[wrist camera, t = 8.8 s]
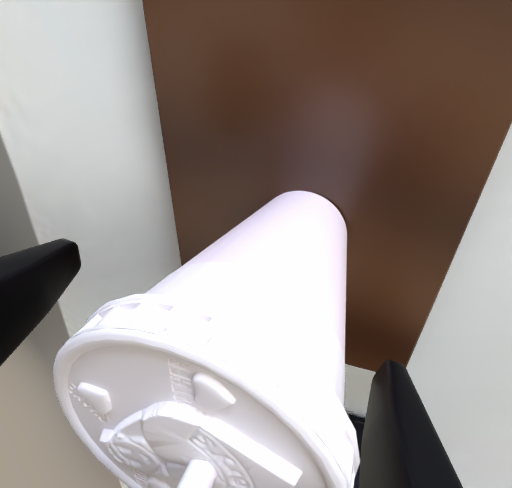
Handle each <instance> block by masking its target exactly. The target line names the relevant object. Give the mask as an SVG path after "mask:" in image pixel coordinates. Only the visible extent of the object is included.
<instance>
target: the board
mask: <svg viewBox="0 0 512 488" xmlns="http://www.w3.org/2000/svg"><path fill="white" fill-rule="evenodd" d="M142 1H143V7H144V14H145V21H146V28H147V34H148V41H149V48H150V55H151V61H152V68H153V75H154V82H155V88H156V95H157V102H158V109H159V115H160V122H161V129H162V136H163V142H164V149H165V156H166V163H167V169H168V176H169V183H170V190H171V196H172V203H173V210H174V217H175V223H176V230H177V237H178V243H179V250H180V257H181V264H182V266H183V265H184V264H185V263H187V262H188V261H189V260H191V259H192V258H194V257H195V256H196V255H198V254H199V253H200V252H202V251H203V250H204V249H206V248H207V247H209V246H210V245H211V244H213V243H214V242H215V241H217V240H218V239H219V238H221V237H222V236H224V235H225V234H226V233H228V232H229V231H230V230H232V229H233V228H234V227H236V226H237V225H239V224H240V223H241V222H243V221H244V220H245V219H247V218H248V217H249V216H251V215H252V214H253V213H255V212H256V211H258V210H259V209H260V208H262V207H263V206H264V205H266V204H267V203H268V202H270V201H271V200H273V199H274V198H275V197H277V196H279V195H281V194H283V193H286V192H290V191H307V192H312V193H315V194H317V195H320V196H322V197H324V198H325V199H327V200H328V201H330V202H331V203H332V204H333V205H334V206H335V207H336V208H337V209H338V211H339V212H340V213H341V215H342V217H343V219H344V221H345V224H346V229H347V265H346V321H345V364H348V365H352V366H356V367H359V368H363V369H367V370H371V371H374V372H377V371H378V370H379V368H380V367H381V365H382V364H383V363H384V361H385V360H387V359H391V360H394V361H396V362H399V363H401V364H403V365H404V366H405V368H406V367H407V364H408V362H409V360H410V357H411V355H412V353H413V351H414V348H415V346H416V344H417V341H418V339H419V337H420V334H421V332H422V330H423V327H424V325H425V323H426V320H427V318H428V316H429V313H430V311H431V309H432V306H433V304H434V302H435V299H436V297H437V295H438V293H439V290H440V288H441V286H442V283H443V281H444V279H445V276H446V274H447V272H448V269H449V267H450V265H451V262H452V260H453V258H454V255H455V253H456V251H457V248H458V246H459V244H460V241H461V239H462V237H463V235H464V232H465V230H466V228H467V225H468V223H469V221H470V218H471V216H472V214H473V211H474V209H475V207H476V204H477V202H478V200H479V197H480V195H481V193H482V190H483V188H484V186H485V184H486V181H487V179H488V177H489V174H490V172H491V170H492V167H493V165H494V163H495V160H496V158H497V156H498V153H499V151H500V149H501V146H502V144H503V142H504V139H505V137H506V135H507V132H508V130H509V128H510V126H511V123H512V0H142Z"/></svg>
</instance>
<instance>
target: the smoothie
mask: <svg viewBox="0 0 512 488" xmlns="http://www.w3.org/2000/svg"><path fill="white" fill-rule="evenodd" d="M346 265H347V229H346V224H345V221H344V219H343V217H342V215H341V213H340V212H339V211H338V209H337V208H336V207H335V206H334V205H333V204H332V203H331V202H330V201H328V200H327V199H325V198H324V197H322V196H320V195H317V194H315V193H312V192H307V191H290V192H286V193H283V194H281V195H279V196H277V197H275V198H274V199H273V200H271V201H270V202H268V203H267V204H266V205H264V206H263V207H262V208H260V209H259V210H258V211H256V212H255V213H253V214H252V215H251V216H249V217H248V218H247V219H245V220H244V221H243V222H241V223H240V224H239V225H237V226H236V227H234V228H233V229H232V230H230V231H229V232H228V233H226V234H225V235H224V236H222V237H221V238H219V239H218V240H217V241H215V242H214V243H213V244H211V245H210V246H209V247H207V248H206V249H204V250H203V251H202V252H200V253H199V254H198V255H196V256H195V257H194V258H192V259H191V260H189V261H188V262H187V263H185V264H184V265H183V266H181V267H180V268H179V269H177V270H176V271H174V272H173V273H171V274H169V275H168V276H167V277H166V278H164V279H163V280H162V281H160V282H159V283H158V284H156V285H155V286H154V287H152V288H151V289H150V290H149V291H147V292H146V293H145V294H134V295H130V296H127V297H123V298H120V299H116V300H113V301H109V302H107V303H105V304H104V305H103V306H102V307H101V308H99V309H98V310H97V311H96V312H95V313H94V314H92V315H91V316H90V317H89V318H88V319H87V322H86V324H85V326H83V327H82V328H81V329H80V330H79V331H78V332H77V333H76V334H74V335H73V336H72V337H71V338H70V339H69V340H67V341H66V343H64V344H63V346H62V347H61V348H60V350H59V351H58V353H57V356H56V358H55V361H54V367H53V378H54V388H55V392H56V395H57V398H58V402H59V405H60V407H61V409H62V410H63V413H64V415H65V417H66V418H67V420H68V422H69V424H70V425H71V426H72V428H73V430H74V431H75V432H76V434H77V435H78V437H79V438H80V440H81V441H82V442H83V443H84V444H85V445H86V446H87V448H88V449H89V450H90V451H91V452H92V454H93V455H94V456H95V457H96V458H97V459H98V460H99V461H100V462H101V463H102V464H103V465H104V466H105V467H106V468H107V469H108V470H109V471H110V472H111V473H113V474H114V475H115V476H116V477H117V478H118V479H120V480H121V481H122V482H123V483H124V484H126V485H127V486H128V487H129V488H353V486H354V479H355V476H356V473H357V470H358V467H359V464H360V457H359V450H358V443H357V436H356V430H355V428H354V426H353V424H352V422H351V421H350V419H349V417H348V415H347V413H346V411H345V409H344V391H345V321H346Z"/></svg>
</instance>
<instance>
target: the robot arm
mask: <svg viewBox="0 0 512 488" xmlns="http://www.w3.org/2000/svg"><path fill="white" fill-rule="evenodd" d="M80 267H81V260H80V255H79V249H78V245H77V244H76V243H75V242H72V241H70V240H67V239H58V240H55V241H51V242H48V243H45V244H42V245H38V246H35V247H32V248H28V249H25V250H22V251H18V252H15V253H12V254H9V255H6V256H2V257H0V366H1V365H2V363H4V361H5V360H6V359H7V358H8V357H9V356H10V355H11V354H12V353H13V351H14V350H15V349H16V348H17V347H18V346H19V345H20V344H21V343H22V341H23V340H24V339H25V338H26V337H27V336H28V335H29V333H31V331H32V330H33V329H34V328H35V327H36V326H37V325H38V324H39V323H40V321H41V320H42V319H43V318H44V317H45V316H46V315H47V313H48V312H49V311H50V310H51V308H52V307H53V306H54V304H55V303H56V302H57V300H58V299H59V298H60V296H61V295H62V293H63V292H64V291H65V289H66V288H67V287H68V285H69V284H70V283H71V281H72V280H73V278H74V277H75V276H76V274H77V273H78V271H79V270H80ZM347 415H348V414H347ZM348 417H349V419H350V421H351V422H352V424H353V426H354V428H355V430H356V436H357V443H358V450H359V457H360V464H359V467H358V470H357V473H356V476H355V479H354V486H353V488H463V487H462V485H461V482H460V480H459V478H458V476H457V474H456V472H455V470H454V468H453V466H452V464H451V462H450V459H449V457H448V455H447V453H446V451H445V449H444V447H443V445H442V443H441V441H440V439H439V437H438V434H437V432H436V430H435V428H434V426H433V424H432V422H431V420H430V418H429V416H428V414H427V411H426V409H425V407H424V405H423V403H422V401H421V399H420V397H419V395H418V393H417V391H416V389H415V386H414V384H413V382H412V380H411V378H410V376H409V374H408V372H407V370H406V368H405V366H404V365H403V364H401V363H399V362H396V361H394V360H391V359H387V360H385V361H384V363H383V364H382V365H381V367H380V368H379V370H378V371H377V372H376V374H375V375H374V377H373V380H372V384H371V390H370V395H369V401H368V407H367V413H366V418H365V420H364V419H361V418H358V417H354V416H351V415H348Z"/></svg>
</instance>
